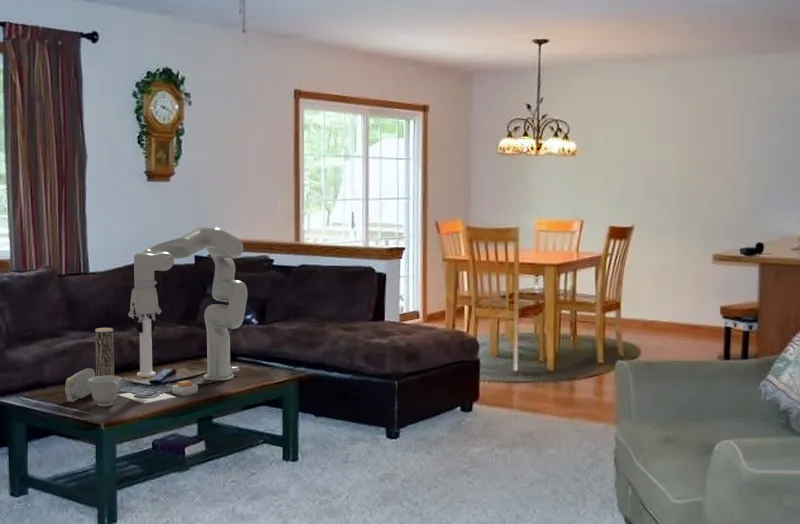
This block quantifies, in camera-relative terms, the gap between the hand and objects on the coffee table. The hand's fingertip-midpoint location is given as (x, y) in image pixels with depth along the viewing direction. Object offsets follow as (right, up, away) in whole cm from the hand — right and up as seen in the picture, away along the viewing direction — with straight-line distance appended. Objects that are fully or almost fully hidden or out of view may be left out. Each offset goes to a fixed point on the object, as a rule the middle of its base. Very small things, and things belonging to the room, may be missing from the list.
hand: (145, 331), depth 381 cm
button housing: (+14, -25, +9) cm, 30 cm away
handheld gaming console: (-25, -26, 0) cm, 36 cm away
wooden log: (-19, -25, +12) cm, 34 cm away
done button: (+14, -23, +9) cm, 28 cm away
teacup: (-11, -27, -11) cm, 32 cm away
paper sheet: (0, -26, +3) cm, 26 cm away
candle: (0, -17, +2) cm, 18 cm away
